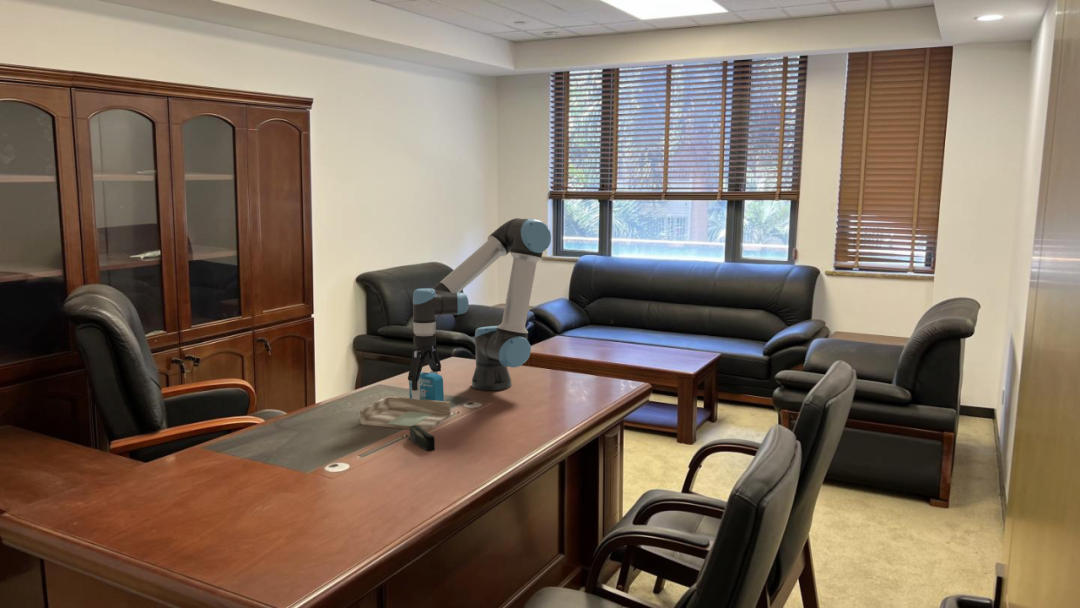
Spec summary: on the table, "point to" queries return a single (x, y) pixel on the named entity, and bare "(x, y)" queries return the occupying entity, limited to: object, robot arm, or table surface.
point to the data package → (430, 387)
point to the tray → (405, 413)
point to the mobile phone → (422, 438)
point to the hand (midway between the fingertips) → (425, 394)
